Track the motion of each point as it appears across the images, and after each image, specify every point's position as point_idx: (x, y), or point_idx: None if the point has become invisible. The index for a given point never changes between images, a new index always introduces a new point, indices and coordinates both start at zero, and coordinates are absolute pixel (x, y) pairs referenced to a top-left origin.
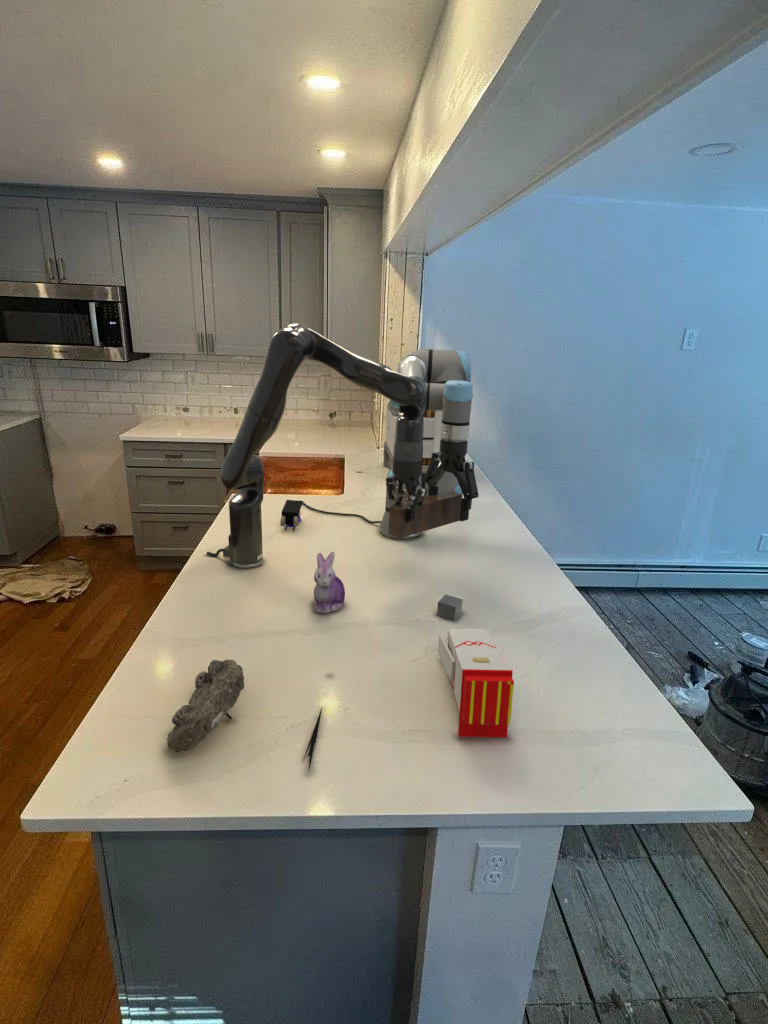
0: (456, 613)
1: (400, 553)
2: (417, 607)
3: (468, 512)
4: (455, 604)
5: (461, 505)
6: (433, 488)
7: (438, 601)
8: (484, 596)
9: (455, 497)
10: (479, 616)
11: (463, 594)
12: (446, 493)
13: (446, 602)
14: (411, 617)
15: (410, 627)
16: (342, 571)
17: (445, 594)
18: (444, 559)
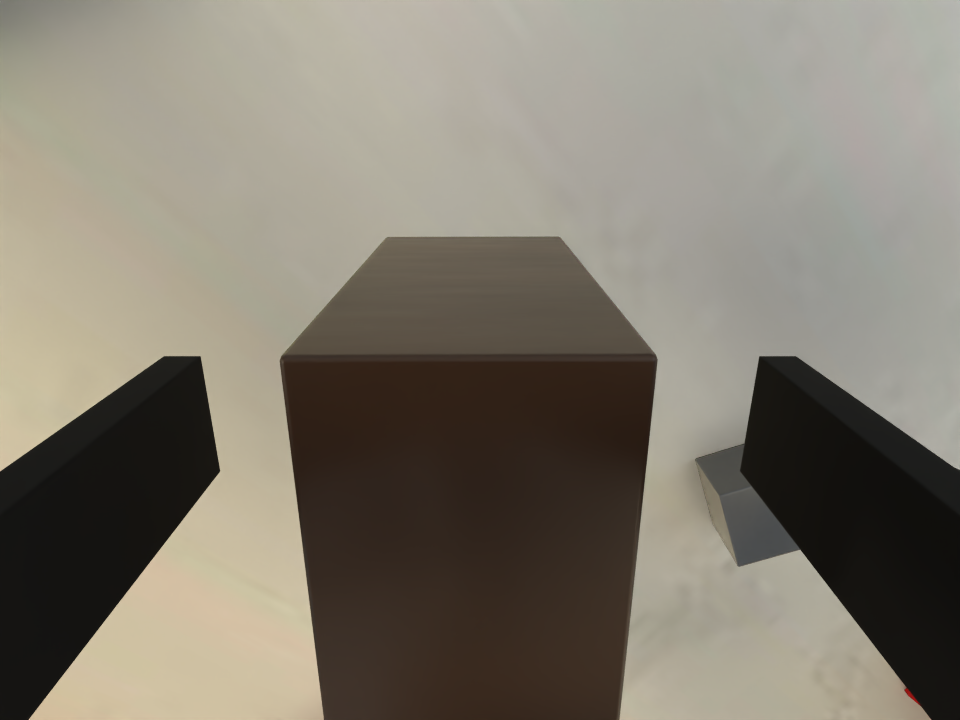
0: None
1: (84, 215)
2: None
3: (854, 405)
4: None
5: (871, 626)
6: (4, 683)
7: (738, 563)
8: (772, 224)
9: (627, 562)
10: (856, 395)
11: (680, 298)
12: (379, 612)
13: (771, 545)
14: (651, 601)
15: (696, 643)
16: (161, 581)
17: (720, 497)
18: (292, 31)
